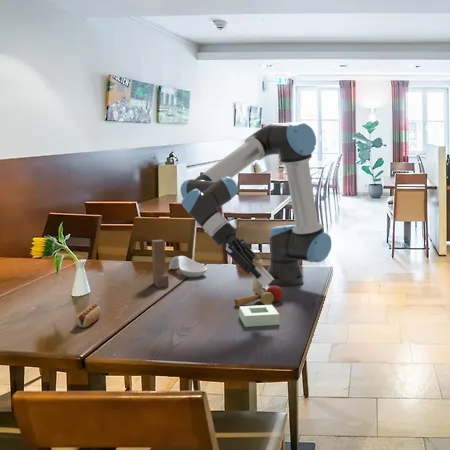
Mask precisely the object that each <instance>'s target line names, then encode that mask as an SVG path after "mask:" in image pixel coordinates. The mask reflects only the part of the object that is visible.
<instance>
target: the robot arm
mask: <svg viewBox="0 0 450 450" xmlns="http://www.w3.org/2000/svg"><path fill="white" fill-rule="evenodd" d="M316 145H317V138H316V134H315V132H314V130H313V128H312V127H311V126H310V125H309V124H307V123H305V122H297V121H295V122H280V123H278V122H277V123H276V122H275V123H270V124H268V125H266V126H264V127H262V128H260V129H259V130H256V131H255V132H253V133H252V134H251V135H249V136H248V137H246V139H245V140H244V143H243V144H241V146H239V147H237V148H236V149H235V150H233V151H231V152H230V153H229V154H227V155H226V156H224V158H222V159H221V160H219V162H217V163H215V164H214V165H213V166H212V167H210V168H208V169H207V170H205V171H204V172H203V173H202V174H200V175H199V176H197V177H196V178H194V179H186V180H184V181H183V182H182V184H181V185H180V194H181V196H182V198H183V199H182V201H181V205H182V207H183V208H184V210H185V211H186V212H187V213H188V215H189V216H191V217H192V219H193V220H195V221H196V223H197V224H198V225H199V226H200V227H201V228H202V229H203V230H204V233H207V235H208V236H210V237H211V239H212V240H213V241H214V242H215V244H216V245H217V246H219V247H220V246H222V245H224V247H225V248H224V250H223V252H225V254H227V255H228V256H230V257H231V258H232V259H233V260H234V261H235V262H236V264H237V265H238V266H239V267H240V268H241V269H242V270H244V272H245V273H246V274H247V275H248V274H251V275H253V276H254V277H255V278H256V279H257V280H258V281H259V282H260V284H261V285H262V286H263V288H266V287H267V286H269V285H271V286H273V285H275V286H278V287H289V286H290V287H291V286H297V285H301V284H303V282H304V275H303V272H302V269H301V266H300V263H299V262H300V261H305V262H308V263H309V262H310V263H321V262H323V261H325V260H326V258H328V256H329V254H330V252H331V250H332V239H331V236H330V235H329V234H328V233H326V232H324V228H323V224H322V223H320V222H319V221H318V216H317V214H318V213H317V208H316V202H315V195H314V189H313V182H312V177H311V176H312V175H311V171H310V163H309V162H310V161H311V158H312V156H313V155H312V154H313V152H314V151H315V150H316V147H315V146H316ZM271 155H279V160H280V163H281V164H282V165H284V166H285V169H286V170H285V171H286V177H287V181H288V182H287V183H288V187H289V188H288V189H289V194H290V201H291V206H292V212H293V217H294V224H287V225H279V226H273V227H271V228H270V231H269V265H268V268H267V270H266V269H265V267H264V266H263V265H262V272H261V271H260V269H259V268H258V267H255V266H254V265H253V263H252V260H253V259H255V255H256V254H255V252H254V251H253V250H252V249H251V248H250V247H249V245H247V242H245V240H244V239H243V238H241V239H239V238H238V237H236V236H235V233H236V228H235V227H234V226H233V225H232V224H231V223H230V222H228V220H227V219H226V217H225V216H224V215H222V213H221V212H220V211H219V210H218V209H220V208H221V207H223V205H225V204H226V203H228V202H229V201H231V200H233V198H234V197H236V195H237V194H238V191H239V188H238V186H237V185H238V184H237V183H236V181H235V180H234V179H233V178H234V177H236V176H237V175H238V174H239V173H240V172H242V171H243V170H244V169H246V168H248V167H249V166H250V165H251V164H253V163H254V162H256V161H260V160H263V159H264V158H265V157H267V156H271Z"/></svg>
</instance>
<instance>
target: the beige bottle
mask: <svg viewBox="0 0 450 450" xmlns="http://www.w3.org/2000/svg"><path fill="white" fill-rule="evenodd" d="M252 263H253V265H254V266H255V267H258V268H259V269H260V271H261V272H262V266H263V259H262V258H261V255H260V254H255V259H253V260H252ZM251 275H252V274H251ZM251 280H252V293H253V294H255V293H262V292H263V288H264V287H263V286H262V285H261V284H260V282H259V281H258V280H257V279H256V278H255V277H254V276H253V275H252V278H251Z"/></svg>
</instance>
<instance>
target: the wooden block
mask: <svg viewBox="0 0 450 450" xmlns="http://www.w3.org/2000/svg"><path fill="white" fill-rule="evenodd" d="M165 242H166V241H165V240H164V239H152V240H151V257H152V259H151V260H152V261H151V262H152V283H153V284H154V285H155V287H156V288H159V289H160V288H168V287H169V284H170V283H169V282H170V281H169V275H168V274H167V270H166V269H167V268H166V243H165Z"/></svg>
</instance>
